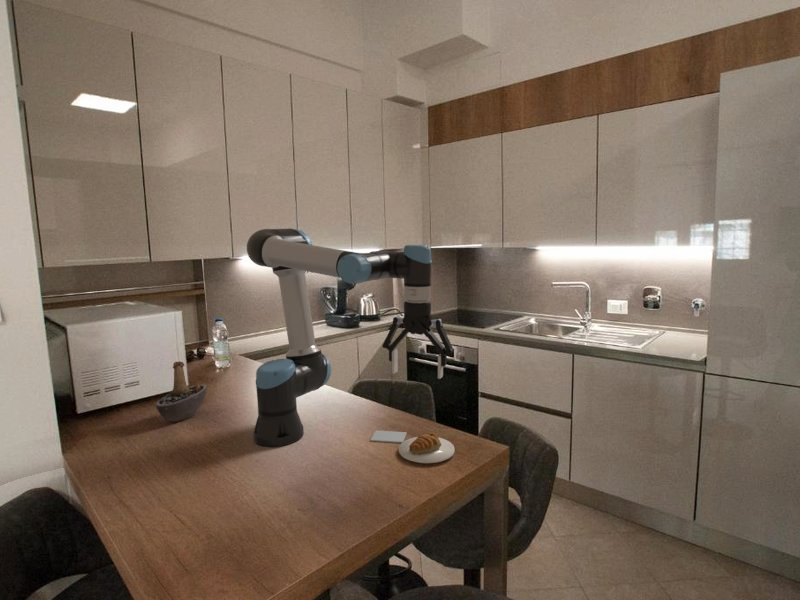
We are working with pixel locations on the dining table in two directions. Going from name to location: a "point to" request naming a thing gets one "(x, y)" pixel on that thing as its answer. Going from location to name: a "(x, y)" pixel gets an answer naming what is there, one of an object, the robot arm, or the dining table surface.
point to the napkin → (388, 436)
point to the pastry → (425, 444)
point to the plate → (432, 457)
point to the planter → (181, 398)
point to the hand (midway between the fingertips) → (417, 374)
